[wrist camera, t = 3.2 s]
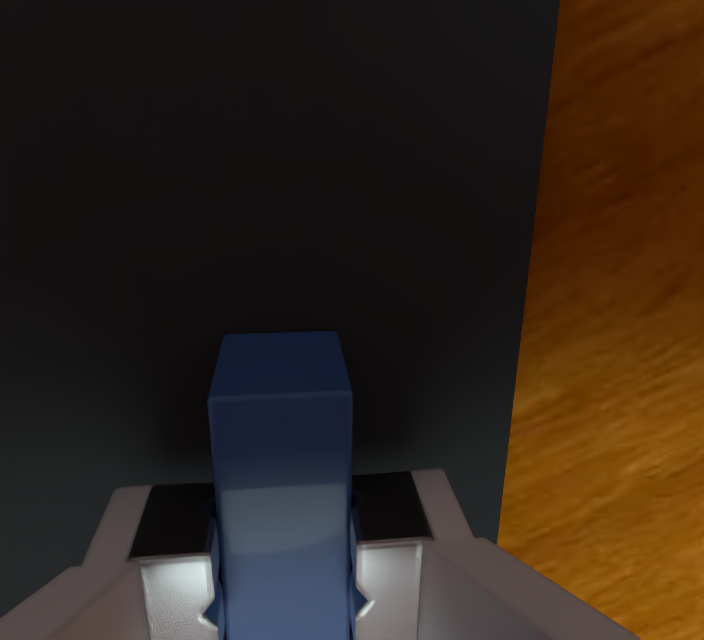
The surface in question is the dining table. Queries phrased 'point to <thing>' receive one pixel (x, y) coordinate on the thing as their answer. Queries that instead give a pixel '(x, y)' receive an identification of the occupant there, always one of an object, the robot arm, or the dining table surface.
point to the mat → (257, 236)
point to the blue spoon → (283, 484)
